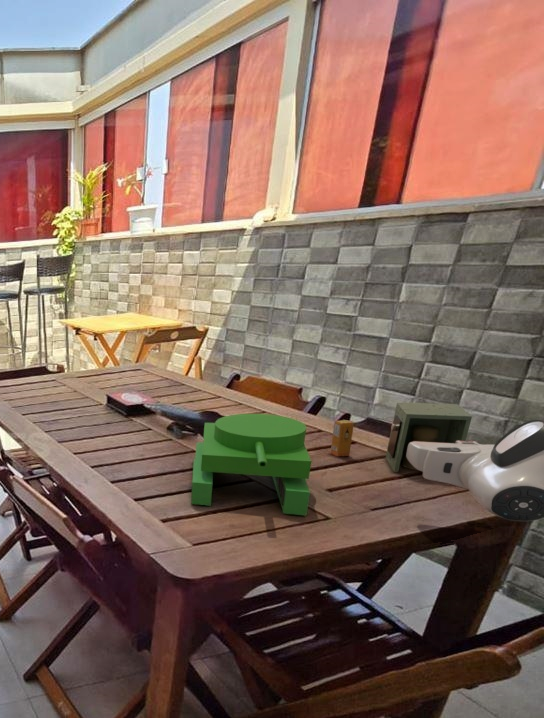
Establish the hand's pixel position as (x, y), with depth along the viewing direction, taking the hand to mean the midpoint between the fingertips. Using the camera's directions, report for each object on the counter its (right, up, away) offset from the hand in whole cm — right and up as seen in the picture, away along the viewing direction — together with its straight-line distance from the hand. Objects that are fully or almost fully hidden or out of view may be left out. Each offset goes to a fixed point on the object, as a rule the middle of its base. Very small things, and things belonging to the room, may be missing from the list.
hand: (464, 444), depth 104 cm
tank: (-33, -12, +23) cm, 42 cm away
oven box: (+14, -6, +24) cm, 29 cm away
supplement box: (+3, -3, +37) cm, 37 cm away
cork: (+14, -6, +25) cm, 30 cm away
